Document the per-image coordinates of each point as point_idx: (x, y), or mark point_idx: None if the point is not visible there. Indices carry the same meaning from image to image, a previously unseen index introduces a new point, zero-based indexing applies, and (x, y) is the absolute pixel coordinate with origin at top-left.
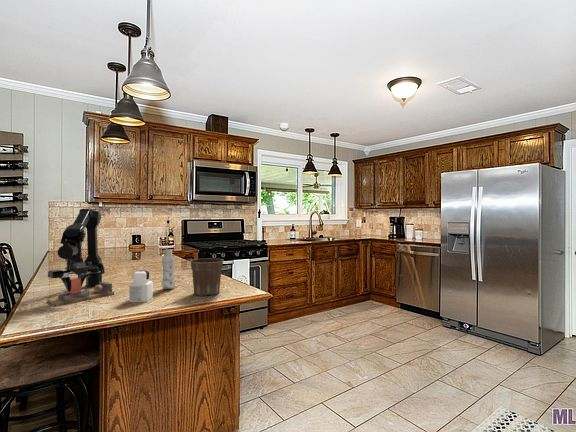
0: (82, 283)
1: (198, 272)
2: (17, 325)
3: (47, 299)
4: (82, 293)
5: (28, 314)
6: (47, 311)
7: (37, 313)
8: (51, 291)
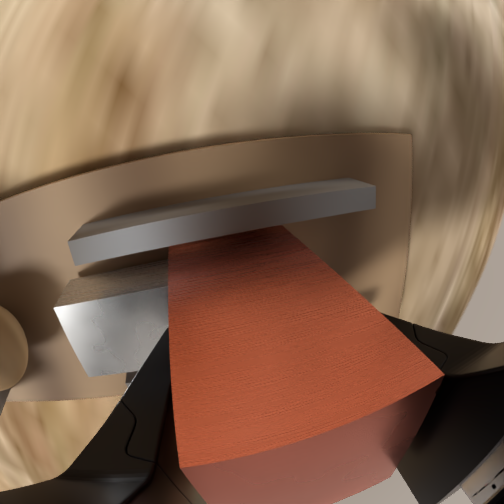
0: (135, 386)
1: None
2: None
3: None
4: (159, 220)
5: (500, 89)
6: (452, 51)
7: (481, 64)
8: None
